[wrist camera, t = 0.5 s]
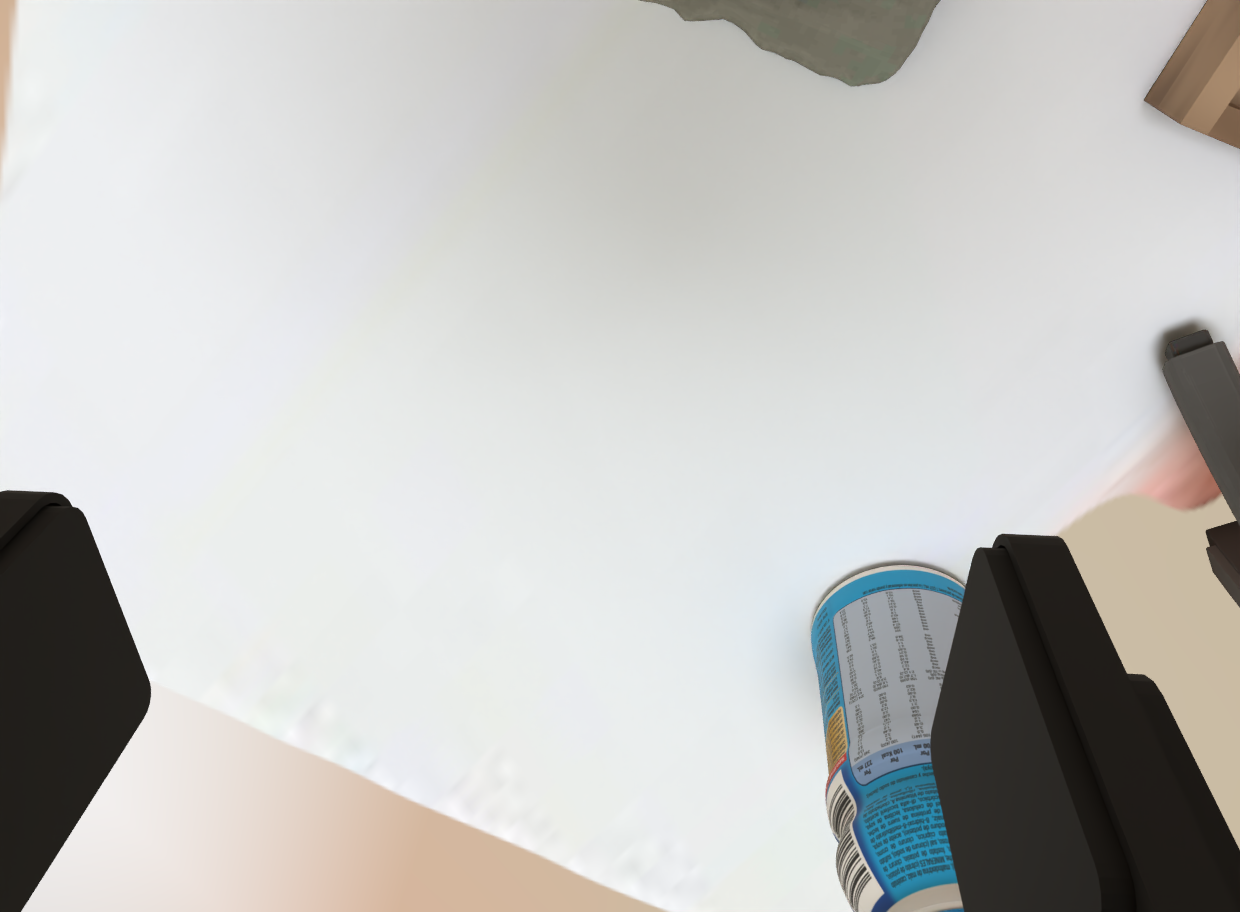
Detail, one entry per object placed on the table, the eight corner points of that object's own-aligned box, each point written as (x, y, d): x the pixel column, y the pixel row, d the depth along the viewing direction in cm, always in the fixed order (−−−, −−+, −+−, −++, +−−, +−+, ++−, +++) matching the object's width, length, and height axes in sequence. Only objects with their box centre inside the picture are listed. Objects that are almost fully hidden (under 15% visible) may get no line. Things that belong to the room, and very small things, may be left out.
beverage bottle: (907, 526, 45) (1020, 947, 28) (1020, 626, 47) (1186, 1066, 31) (771, 621, 49) (799, 1042, 32) (882, 709, 51) (963, 1141, 34)
